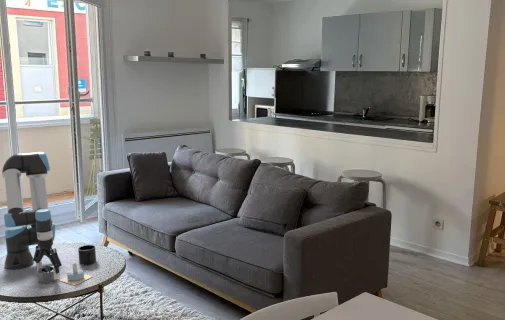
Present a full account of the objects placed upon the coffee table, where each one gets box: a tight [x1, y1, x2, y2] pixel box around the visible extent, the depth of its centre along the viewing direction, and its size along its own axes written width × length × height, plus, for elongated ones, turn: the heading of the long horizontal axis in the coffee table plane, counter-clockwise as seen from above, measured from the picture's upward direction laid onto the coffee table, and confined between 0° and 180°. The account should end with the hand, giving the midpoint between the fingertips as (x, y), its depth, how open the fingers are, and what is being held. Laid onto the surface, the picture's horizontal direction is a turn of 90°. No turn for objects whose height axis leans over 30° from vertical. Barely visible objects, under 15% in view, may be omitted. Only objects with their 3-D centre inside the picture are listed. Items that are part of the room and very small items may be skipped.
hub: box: [58, 262, 93, 286], centre depth 260 cm, size 12×12×9 cm
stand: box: [44, 264, 51, 272], centre depth 259 cm, size 5×5×8 cm
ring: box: [37, 265, 59, 285], centre depth 259 cm, size 9×9×6 cm
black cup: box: [77, 244, 97, 266], centre depth 282 cm, size 9×12×9 cm
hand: (48, 276), depth 259 cm, fingers open, 13 cm apart
